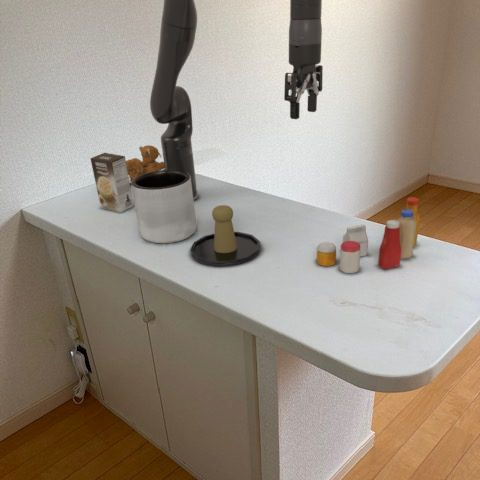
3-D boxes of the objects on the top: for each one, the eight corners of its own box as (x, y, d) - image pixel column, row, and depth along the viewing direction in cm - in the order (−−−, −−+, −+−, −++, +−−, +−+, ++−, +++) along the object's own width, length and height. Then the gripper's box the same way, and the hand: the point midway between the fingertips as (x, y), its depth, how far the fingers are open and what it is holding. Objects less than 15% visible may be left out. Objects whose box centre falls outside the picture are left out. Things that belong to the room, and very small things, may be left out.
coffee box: (99, 208, 164) (88, 158, 156) (114, 201, 169) (103, 152, 160) (121, 213, 160) (110, 161, 151) (134, 206, 165) (125, 155, 156)
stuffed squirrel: (172, 184, 180) (167, 146, 172) (134, 193, 174) (127, 154, 167) (161, 177, 187) (155, 140, 180) (124, 186, 182) (117, 148, 174)
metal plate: (176, 256, 132) (175, 251, 131) (220, 231, 144) (219, 226, 143) (232, 273, 123) (232, 268, 122) (274, 244, 134) (274, 239, 134)
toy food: (409, 239, 132) (415, 193, 125) (437, 260, 121) (445, 212, 115) (310, 256, 127) (311, 209, 121) (330, 279, 117) (332, 230, 110)
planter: (128, 240, 142) (117, 185, 134) (161, 218, 154) (153, 167, 145) (176, 249, 136) (168, 192, 127) (208, 226, 147) (202, 172, 139)
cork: (229, 254, 129) (225, 213, 123) (209, 250, 132) (204, 209, 126) (241, 245, 133) (239, 204, 127) (222, 241, 136) (218, 201, 130)
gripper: (306, 37, 126) (304, 108, 135) (274, 44, 116) (275, 119, 125) (333, 38, 122) (330, 110, 131) (303, 45, 112) (302, 122, 121)
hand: (303, 115), depth 128 cm, fingers open, 8 cm apart
